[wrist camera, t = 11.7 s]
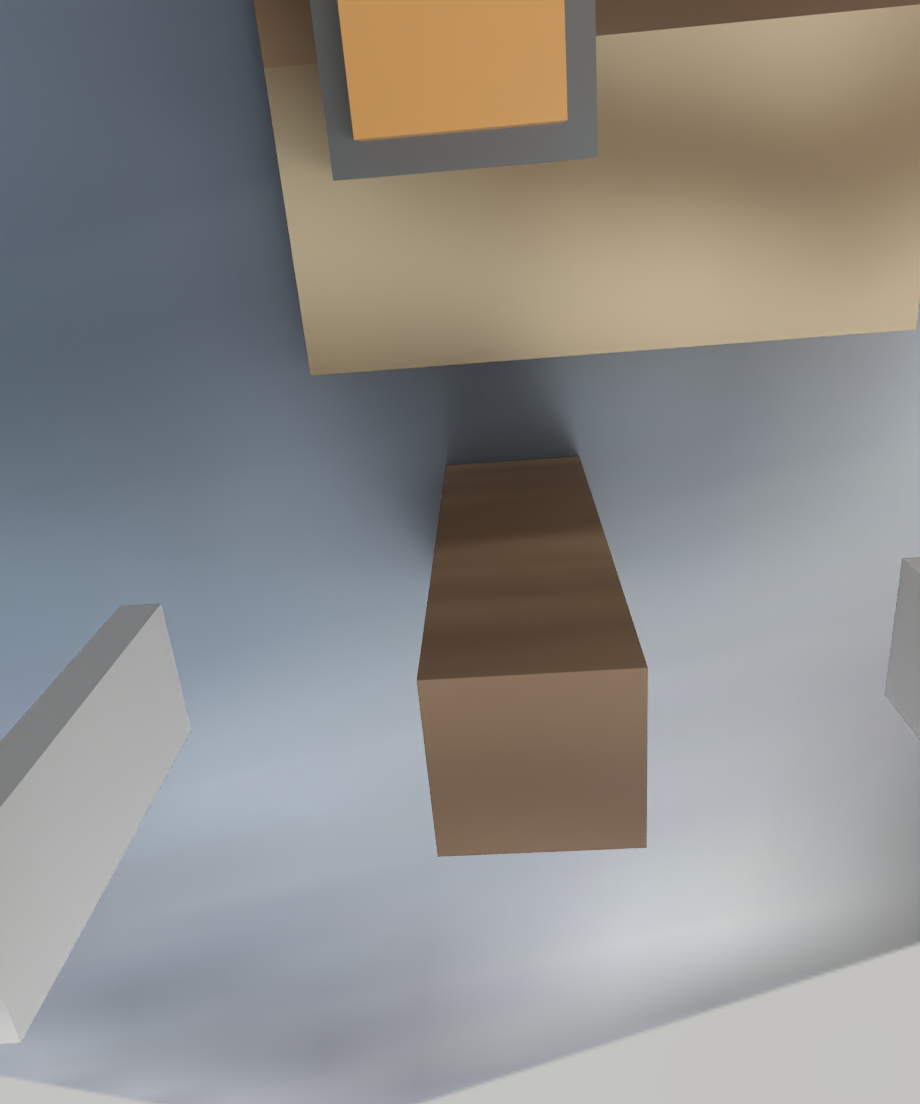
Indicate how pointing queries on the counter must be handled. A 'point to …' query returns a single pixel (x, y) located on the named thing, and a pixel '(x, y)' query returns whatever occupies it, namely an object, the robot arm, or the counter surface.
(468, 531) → the peg
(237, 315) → the counter surface
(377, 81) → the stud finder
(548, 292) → the plywood panel
